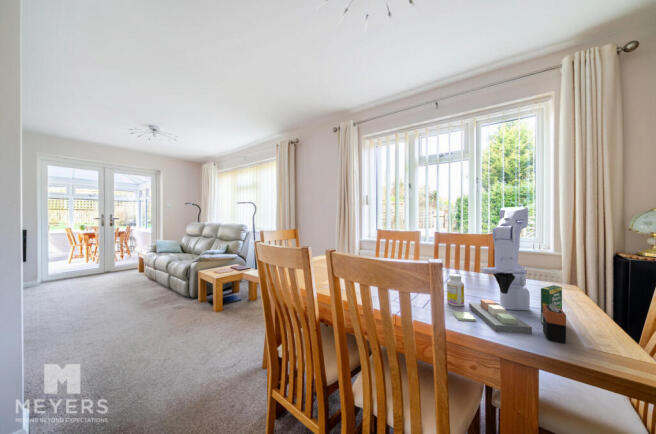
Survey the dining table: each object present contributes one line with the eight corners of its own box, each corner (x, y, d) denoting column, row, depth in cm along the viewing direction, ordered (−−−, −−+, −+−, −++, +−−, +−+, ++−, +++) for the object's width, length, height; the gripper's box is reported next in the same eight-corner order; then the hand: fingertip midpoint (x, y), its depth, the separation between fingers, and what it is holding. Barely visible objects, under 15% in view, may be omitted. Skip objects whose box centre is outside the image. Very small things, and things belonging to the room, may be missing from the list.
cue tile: (468, 314, 92) (468, 312, 92) (476, 321, 87) (476, 319, 87) (452, 313, 93) (452, 311, 93) (458, 320, 87) (458, 318, 87)
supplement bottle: (459, 301, 106) (459, 273, 106) (467, 307, 100) (467, 277, 100) (444, 301, 107) (444, 272, 107) (450, 306, 101) (450, 276, 100)
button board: (497, 309, 97) (497, 304, 97) (531, 333, 78) (531, 327, 78) (469, 307, 99) (469, 303, 99) (495, 331, 79) (495, 325, 79)
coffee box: (549, 327, 82) (549, 289, 82) (539, 323, 84) (539, 287, 84) (563, 323, 85) (563, 287, 85) (553, 319, 87) (553, 284, 87)
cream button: (499, 312, 90) (499, 305, 90) (505, 317, 86) (505, 309, 86) (488, 312, 90) (488, 304, 90) (493, 316, 87) (493, 308, 87)
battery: (547, 340, 73) (547, 308, 73) (542, 331, 79) (542, 301, 79) (566, 344, 71) (566, 311, 71) (560, 335, 76) (560, 304, 76)
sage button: (509, 322, 84) (509, 314, 84) (516, 327, 80) (516, 318, 80) (496, 321, 85) (496, 313, 85) (503, 326, 81) (503, 318, 81)
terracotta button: (491, 306, 96) (491, 299, 96) (496, 310, 92) (496, 303, 92) (480, 306, 96) (480, 299, 96) (485, 310, 92) (485, 302, 92)
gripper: (488, 258, 87) (488, 295, 87) (532, 259, 84) (532, 297, 85) (479, 255, 94) (479, 289, 94) (519, 256, 91) (519, 291, 92)
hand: (503, 292), depth 90 cm, fingers closed
